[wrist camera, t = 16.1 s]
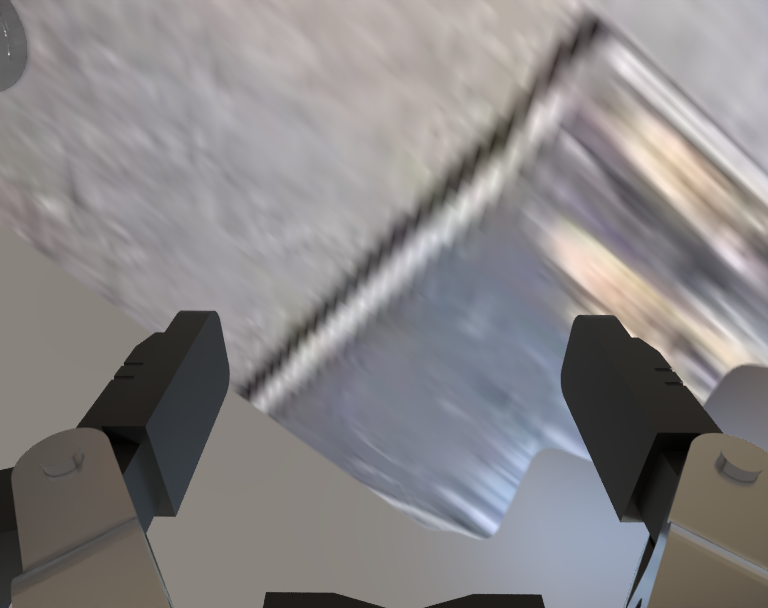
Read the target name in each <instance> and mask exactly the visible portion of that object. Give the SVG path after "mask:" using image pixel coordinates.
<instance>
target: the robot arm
mask: <svg viewBox="0 0 768 608" xmlns="http://www.w3.org/2000/svg"><path fill="white" fill-rule="evenodd" d="M26 59H27V42H26V38H25V34H24V29H23V26H22V24H21V22H20V19H19V17H18V14H17V12H16V11H15V9H14V7H13V6H12V4H11V2H10V1H9V0H0V92H1V91H4V90H6V89H7V88H9V87H11V86H13V85H14V84H15V83H16V81H17V80H18V79H19V78H20V77H21V75H22V72H23V70H24V68H25V64H26ZM229 376H230V372H229V363H228V358H227V353H226V348H225V343H224V338H223V333H222V327H221V322H220V318H219V315H218V313H217V312H216V311H180V312H178V313H177V315H176V316H175V318H174V319H173V321H172V322H171V324H170V325H169V327H168V328H167V330H166V331H165V333H161V332H156V333H154V334H153V335H151V336H150V337H148V338H147V339H146V340H144V341H143V342H141V343H140V344H139V345H137V346H136V347H135V348H134V350H133V351H132V352H131V354H130V355H129V356H128V358H127V359H126V361H125V362H124V366H121V367H120V369H119V370H118V371H117V373H116V374H115V376H114V380H111V381H110V382H109V384H108V385H107V386H106V388H105V389H104V390H103V392H102V393H101V394H100V396H99V397H98V399H97V400H96V401H95V403H94V404H93V406H92V407H91V408H90V409H89V411H88V412H87V414H86V415H85V416H84V418H83V419H82V420H81V422H80V423H79V424H78V426H77V427H76V428H75V429H70V430H66V431H62V432H59V433H56V434H54V435H51V436H49V437H47V438H45V439H43V440H42V441H40V442H38V443H37V444H35V445H34V446H32V447H31V448H30V449H29V450H28V451H26V452H25V453H24V455H23V456H22V457H21V458H20V459H19V460H18V462H17V463H16V465H15V467H12V468H8V469H3V470H0V608H9V606H10V604H11V602H12V608H174V606H173V604H172V601H171V598H170V596H169V593H168V590H167V588H166V585H165V582H164V580H163V577H162V574H161V571H160V569H159V566H158V563H157V561H156V558H155V556H154V553H153V550H152V547H151V544H150V542H149V539H148V537H147V534H146V532H147V530H148V528H149V526H150V524H151V521H152V519H153V517H154V516H166V517H167V516H168V517H175V516H176V515H177V512H178V510H179V507H180V505H181V502H182V500H183V498H184V495H185V493H186V490H187V488H188V486H189V483H190V481H191V478H192V476H193V474H194V471H195V469H196V466H197V464H198V461H199V459H200V457H201V454H202V452H203V449H204V447H205V444H206V442H207V440H208V437H209V435H210V432H211V430H212V427H213V425H214V423H215V420H216V418H217V415H218V413H219V410H220V408H221V406H222V403H223V401H224V398H225V396H226V393H227V390H228V386H229ZM561 388H562V393H563V396H564V399H565V401H566V403H567V405H568V407H569V410H570V412H571V414H572V416H573V419H574V421H575V423H576V425H577V427H578V430H579V432H580V434H581V436H582V438H583V441H584V443H585V445H586V447H587V450H588V452H589V454H590V456H591V458H592V461H593V463H594V465H595V467H596V469H597V472H598V474H599V476H600V478H601V480H602V483H603V485H604V487H605V489H606V492H607V494H608V496H609V498H610V500H611V503H612V505H613V507H614V509H615V511H616V514H617V516H618V518H619V520H620V522H644V523H645V525H646V527H647V529H648V531H649V535H648V537H647V539H646V542H645V544H644V547H643V550H642V553H641V556H640V559H639V562H638V564H637V567H636V570H635V573H634V577H633V580H632V583H631V585H630V588H629V591H628V594H627V597H626V600H625V603H624V606H623V608H768V453H767V452H766V451H764V450H763V449H761V448H760V447H758V446H756V445H754V444H753V443H750V442H748V441H746V440H744V439H741V438H738V437H735V436H731V435H727V434H723V432H722V431H721V430H720V429H719V428H718V426H717V425H716V424H715V422H714V421H713V420H712V418H711V417H710V416H709V415H708V413H707V412H706V411H705V410H704V408H703V407H702V406H701V404H700V403H699V402H698V401H697V399H696V398H695V397H694V396H693V394H692V393H691V392H690V390H689V389H688V388H687V387H686V386H683V382H682V380H681V379H680V378H679V376H678V375H677V374H676V373H675V372H672V368H671V366H670V365H669V364H668V362H667V361H666V360H665V359H664V357H663V356H662V355H661V354H660V352H659V351H657V350H656V349H654V348H653V347H651V346H650V345H649V344H647V343H646V342H644V341H643V340H641V339H640V338H631V336H630V335H629V333H628V332H627V331H626V329H625V328H624V327H623V325H622V324H621V323H620V321H619V320H618V319H617V317H615V316H614V315H578V316H577V317H576V318H575V320H574V322H573V325H572V329H571V333H570V337H569V341H568V345H567V349H566V353H565V357H564V361H563V366H562V370H561ZM263 608H385V607H381V606H378V605H374V604H371V603H367V602H364V601H360V600H357V599H353V598H350V597H346V596H343V595H339V594H336V593H297V592H295V593H294V592H291V593H290V592H266V595H265V600H264V605H263ZM425 608H545V606H544V603H543V599H542V595H534V594H530V595H529V594H522V595H521V594H472V595H468V596H465V597H462V598H457V599H454V600H450V601H447V602H443V603H439V604H436V605H432V606H429V607H425Z"/></svg>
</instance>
